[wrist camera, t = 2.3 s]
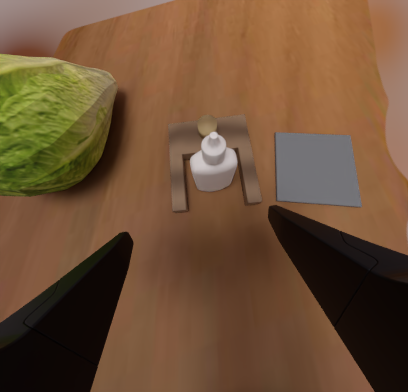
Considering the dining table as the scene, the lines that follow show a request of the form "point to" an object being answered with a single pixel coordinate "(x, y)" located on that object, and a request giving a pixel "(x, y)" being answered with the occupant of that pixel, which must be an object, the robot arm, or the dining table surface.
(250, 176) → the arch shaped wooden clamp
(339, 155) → the slate mat
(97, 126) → the lettuce
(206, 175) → the eye dropper bottle
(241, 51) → the dining table surface
